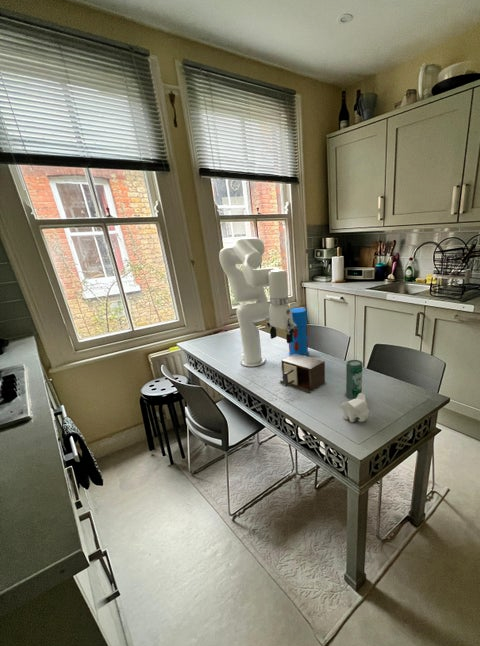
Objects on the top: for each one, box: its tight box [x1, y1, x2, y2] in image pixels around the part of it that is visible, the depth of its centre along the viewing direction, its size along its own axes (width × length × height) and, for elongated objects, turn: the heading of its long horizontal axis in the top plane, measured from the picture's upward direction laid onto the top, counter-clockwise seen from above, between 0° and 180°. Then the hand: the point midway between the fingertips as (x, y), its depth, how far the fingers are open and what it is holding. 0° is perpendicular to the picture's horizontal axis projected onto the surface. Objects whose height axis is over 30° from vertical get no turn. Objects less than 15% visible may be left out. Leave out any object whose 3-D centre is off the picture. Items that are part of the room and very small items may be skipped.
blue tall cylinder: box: [288, 307, 309, 356], centre depth 176 cm, size 11×11×25 cm
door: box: [284, 363, 298, 387], centre depth 140 cm, size 7×6×9 cm
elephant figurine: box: [340, 392, 374, 423], centre depth 116 cm, size 10×12×9 cm
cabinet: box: [279, 354, 326, 394], centre depth 144 cm, size 17×12×11 cm
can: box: [345, 359, 364, 400], centre depth 131 cm, size 6×6×15 cm
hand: (281, 340), depth 137 cm, fingers open, 9 cm apart
